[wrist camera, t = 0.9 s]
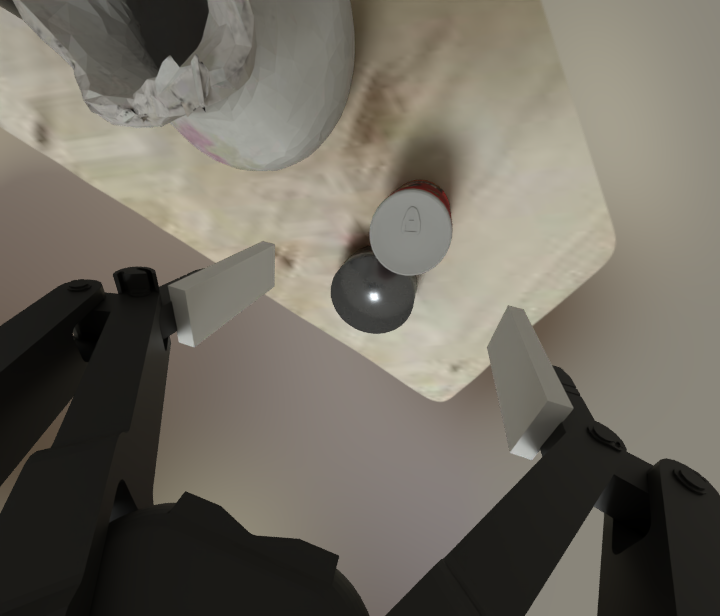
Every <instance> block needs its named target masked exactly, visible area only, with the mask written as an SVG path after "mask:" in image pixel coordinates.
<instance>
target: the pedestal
mask: <svg viewBox="0 0 720 616" xmlns="http://www.w3.org/2000/svg"><path fill="white" fill-rule="evenodd" d="M416 289H417V278H416V275H414V276H405V275H400V274H397V273H394V272H392V271H390V270H389V269H387V268H385V267H384V266H383V265H382V264H381V263H380V262H379V260H378V259H377V258H376V256H375V254H374V252H373V250H372V247H371V246H368V247H365V248H362V249H360V250H358V251H356V252H355V253H354V254H353V255H352V256H351V257H350V258H349V259H348V260H347V261H346V262H345V263H344V264H343V266H342V267H341V268H340V269H339V270H338V271H337V273H336V274H335V276H334V278H333V281H332V285H331V298H332V302H333V305H334V307H335V309H336V311H337V313H338V314H339V315H340V317H341V318H342V319H343V320H344V321H345V322H346V323H348V324H349V325H350V326H352V327H354V328H355V329H358V330H360V331H363V332H367V333H373V334H380V333H386V332H390V331H392V330H395V329H397V328H398V327H400V326H401V325H402V324H403V323H404V322H405V321H406V320H407V319H408V317H409V316H410V314H411V311H412V308H413V304H414V299H415V294H416Z"/></svg>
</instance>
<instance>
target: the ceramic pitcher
mask: <svg viewBox="0 0 720 616" xmlns="http://www.w3.org/2000/svg"><path fill="white" fill-rule="evenodd" d="M13 2H14V4H15V6H16V8H17V9H18V11H19V13H20V15H21V17H22V18H23V20H24V21H25V22H26V23H27V24H28V25H29V27H30V28H31V29H32V30H33V31H34V32H35V33H36V34H37V35H38V36H39V37H40V38H41V39H42V40H43V41H44V42H45V43H46V44H48V45H49V46H50V47H51V48H52V49H53V50H54V51H56V52H57V53H58V54H59V55H60V56H61V57H62V58H63V59H64V60H65V61H66V62H67V63H68V64H69V65H70V66H71V67H72V68H73V70H74V75H75V78H76V81H77V83H78V85H79V88H80V90H81V93H82V97H83V100H84V102H85V103H86V104H87V106H88V107H89V109H90V110H91V111H92V112H93V113H96V114H98V115H99V116H101V117H102V118H104V119H105V120H107V121H108V122H110V123H111V124H113V125H119V126H127V127H158V126H160V127H162V126H164V125H166V124H168V123H171V124H172V125H173V126H174V127H175V128H176V129H177V130H178V131H179V132H180V133H181V134H182V135H183V136H184V137H185V138H186V139H187V140H188V141H189V142H190V143H191V144H192V145H194V146H195V147H196V148H197V149H198V150H200V151H201V152H203V153H204V154H206V155H208V156H209V157H211V158H212V159H214V160H216V161H218V162H221V163H223V164H226V165H229V166H231V167H234V168H237V169H242V170H249V171H277V170H280V169H283V168H286V167H289V166H291V165H293V164H296V163H298V162H300V161H302V160H304V159H305V158H307V157H309V156H310V155H311V154H312V153H313V152H314V151H315V150H316V149H317V148H319V147H320V146H321V144H322V143H323V142H324V141H325V140H326V138H327V137H328V136H329V135H330V133H331V132H332V130H333V128H334V127H335V125H336V124H337V122H338V120H339V119H340V117H341V115H342V112H343V110H344V107H345V105H346V102H347V98H348V95H349V90H350V86H351V81H352V76H353V70H354V58H355V33H354V24H353V16H352V9H351V3H350V0H13Z"/></svg>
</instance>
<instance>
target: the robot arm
mask: <svg viewBox="0 0 720 616" xmlns="http://www.w3.org/2000/svg"><path fill="white" fill-rule="evenodd" d="M0 6H1V7H2V8H4V9H6V10H7V11H9V12H11V13H12V14H14V15H16V16H17V17H19V18H21V19H22V20H23V18H22V17H21V15H20V13H19V11H18V9H17V8H16V6H15V4H14V2H13V0H0ZM274 274H275V244H272V243H268V242H264V241H262V242H260V243H258V244H256V245H254V246H252V247H249V248H247V249H245V250H243V251H241V252H239V253H237V254H234V255H232V256H230V257H228V258H226V259H224V260H222V261H219V262H217V263H215V264H213V265H211V266H209V267H207V268H204V269H199V270H195V271H193V272H191V273H188V274H187V275H184V276H182V277H180V279H179V278H178V279H175V280H173V281H171V282H169V283H167V284H165V285H162V286H160V287H159V286H158V282H157V277H156V272H155V270H153V269H151V268H148V267H128V268H124V269H121V270H118V271H116V272H115V273H114V274H113V277H114V280H115V284H116V287H117V290H118V294H115V293H105V292H104V289H103V286H102V284H101V282H99V281H96V280H84V279H80V280H73V281H71V282H68V283H64V284H62V285H60V286H58V287H57V288H55V289H54V290H52V291H51V292H50V293H48V294H46V295H45V296H44V297H42V298H41V299H39V300H38V301H36V302H35V303H33V304H32V305H30V306H29V307H27V308H26V309H25V310H23V311H22V312H20V313H19V314H17V315H16V316H14V317H13V318H12V319H10V320H9V321H7V322H6V323H4V324H3V325H1V326H0V486H1V485H2V484H3V483H4V481H5V480H6V479H7V478H8V476H9V475H10V474H11V473H12V471H13V470H14V469H15V468H16V467H17V465H18V464H19V463H20V461H21V460H22V459H23V458H24V457H25V455H26V454H27V453H28V452H29V451H30V449H31V448H32V447H33V446H34V444H35V443H36V442H37V441H38V439H39V438H40V437H41V436H42V434H43V433H44V432H45V431H46V430H47V428H48V427H49V426H50V425H51V423H52V422H53V421H54V420H55V419H56V417H57V416H58V415H59V413H60V412H61V411H62V410H63V409H64V407H65V406H66V405H67V404H68V402H69V401H70V400H71V399H72V398H73V399H72V401H71V404H70V406H69V408H68V411H67V413H66V415H65V418H64V420H63V422H62V424H61V427H60V429H59V431H58V433H57V436H56V438H55V440H54V443H53V445H52V446H51V448H49V449H44V450H40V451H36V452H35V453H34V454H32V455H31V456H30V457H29V459H28V460H27V462H26V463H25V465H24V467H23V469H22V471H21V473H20V475H19V477H18V479H17V481H16V483H15V485H14V487H13V489H12V491H11V493H10V495H9V497H8V499H7V501H6V503H5V505H4V507H3V509H2V511H1V513H0V616H369V613H368V611H367V609H366V607H365V605H364V603H363V601H362V599H361V597H360V596H359V594H358V593H357V591H356V590H355V588H354V586H353V585H352V584H351V583H350V582H349V580H348V579H347V578H346V577H345V576H344V575H343V574H342V573H341V572H340V571H339V570H337V569H336V566H337V562H338V559H339V556H338V555H336V554H334V553H331V552H329V551H327V550H324V549H322V548H320V547H317V546H315V545H312V544H310V543H308V542H305V541H303V540H301V539H293V538H279V537H267V536H256V535H252V534H251V533H249V532H248V531H247V530H246V529H245V528H244V527H243V526H242V525H241V524H240V523H238V522H237V521H236V520H235V519H234V518H233V517H232V516H231V515H230V514H229V513H228V512H227V511H225V510H224V509H223V508H222V507H221V506H219V505H217V504H215V503H212V502H210V501H208V500H205V499H203V498H200V497H198V496H195V495H193V494H191V493H188V492H185V493H184V494H183V495H182V496H181V498H180V499H179V500H178V502H177V503H164V504H158V505H154V504H153V484H154V476H155V467H156V458H157V451H158V443H159V434H160V426H161V419H162V411H163V402H164V394H165V386H166V378H167V370H168V362H169V354H170V345H171V341H170V335H171V334H173V333H175V332H176V331H177V334H178V339H179V342H180V343H183V344H186V345H189V346H192V347H196V346H197V345H198V344H200V343H201V342H202V341H203V340H205V339H206V338H207V337H209V336H210V335H211V334H213V333H214V332H215V331H216V330H218V329H219V328H220V327H222V326H223V325H224V324H226V323H227V322H228V321H230V320H231V319H232V318H234V317H235V316H236V315H238V314H239V313H240V312H242V311H243V310H244V309H245V308H247V307H248V306H249V305H251V304H252V303H253V302H255V301H256V300H257V299H259V298H260V297H261V296H263V295H264V294H265V293H267V292H268V291H269V290H270V289H272V288H273V287H274ZM73 333H74V336H73ZM487 349H488V354H489V358H490V363H491V368H492V372H493V377H494V382H495V386H496V391H497V395H498V400H499V405H500V409H501V414H502V419H503V423H504V428H505V433H506V437H507V442H508V447H509V451H510V453H512V454H515V455H518V456H521V457H524V458H527V459H530V460H532V459H533V458H534V457H535V455H536V454H537V453H538V452H539V451H540V450H541V454H542V458H541V459H540V460H539V461H538V462H537V463H536V464H535V465H534V466H533V467H532V468H531V469H530V470H529V471H528V473H527V474H526V475H525V476H524V477H523V478H522V479H521V480H520V481H519V482H518V483H517V484H516V485H515V486H514V487H513V488H512V489H511V490H510V491H509V492H508V493H507V494H506V495H505V496H504V497H503V498H502V499H501V500H500V501H499V503H497V504H496V505H495V507H494V508H493V509H492V510H491V511H490V512H489V513H488V514H487V515H486V516H485V517H484V518H483V519H482V520H481V521H480V522H479V523H478V524H477V525H476V526H475V527H474V528H473V529H472V530H471V531H470V532H469V533H468V534H467V535H466V536H465V537H464V538H463V539H462V540H461V542H460V543H458V544H457V545H456V547H455V548H454V549H453V550H452V551H451V552H450V553H449V554H448V555H447V556H446V557H445V558H443V559H441V560H440V561H439V562H438V563H437V564H436V565H435V566H434V567H433V568H432V569H431V570H430V571H429V572H428V573H427V574H426V575H425V576H424V577H423V578H422V579H421V580H420V581H419V582H418V583H417V584H416V585H415V586H414V587H413V588H412V589H411V590H410V591H409V592H408V593H407V594H406V595H405V596H404V597H403V598H402V599H401V600H400V601H399V602H398V603H397V604H396V605H395V606H394V607H393V608H392V609H391V610H390V612H388V614H387V615H386V616H525V614H526V613H527V611H528V610H529V608H530V607H531V605H532V603H533V602H534V600H535V598H536V597H537V596H538V594H539V592H540V591H541V589H542V588H543V586H544V584H545V582H546V581H547V579H548V578H549V576H550V575H551V573H552V572H553V570H554V568H555V567H556V565H557V563H558V562H559V560H560V559H561V557H562V556H563V554H564V552H565V551H566V549H567V548H568V546H569V545H570V543H571V541H572V539H573V538H574V537H575V535H576V533H577V532H578V530H579V529H580V527H581V525H582V524H583V522H584V521H585V519H586V517H587V516H588V514H589V513H590V511H591V510H592V508H593V506H594V507H596V508H597V509H599V510H600V511H602V512H604V526H603V540H602V542H603V543H602V555H601V570H600V584H599V599H598V613H597V616H720V495H719V493H718V492H717V491H716V490H715V488H714V487H713V486H712V485H711V484H710V483H709V482H708V481H707V480H706V479H705V478H704V477H702V476H701V475H700V474H699V473H698V472H696V471H694V470H692V469H691V468H689V467H688V466H686V465H684V464H682V463H679V462H677V461H675V460H671V459H662V460H660V461H659V462H657V463H656V464H655V465H654V466H653V465H651V464H649V463H647V462H645V461H643V460H641V459H640V458H637V457H636V456H634V455H632V454H630V453H628V452H626V450H627V449H626V447H625V445H624V443H623V441H622V440H621V439H620V438H619V437H618V436H617V435H616V434H615V433H614V432H613V431H611V430H610V429H609V428H608V427H606V426H604V425H602V424H600V423H599V422H596V421H595V420H594V418H593V417H592V415H591V413H590V411H589V409H588V408H587V406H586V404H585V402H584V401H583V399H582V397H580V393H579V392H578V390H577V389H576V386H575V385H574V383H573V381H572V379H571V378H570V376H569V375H567V374H566V373H565V372H564V371H563V370H562V369H561V368H559V367H556V366H553V365H551V363H550V361H549V359H548V357H547V355H546V353H545V351H544V349H543V347H542V345H541V343H540V341H539V339H538V337H537V335H536V333H535V331H534V329H533V327H532V325H531V323H530V321H529V319H528V317H527V315H526V313H525V311H524V309H520V308H516V307H512V306H509V305H508V307H507V309H506V311H505V313H504V315H503V317H502V319H501V321H500V323H499V325H498V327H497V329H496V331H495V333H494V335H493V337H492V339H491V341H490V343H489V344H488V346H487ZM73 396H74V397H73Z"/></svg>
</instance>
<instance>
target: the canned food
mask: <svg viewBox="0 0 720 616" xmlns="http://www.w3.org/2000/svg"><path fill="white" fill-rule="evenodd" d="M369 234H370V243H371V247H372V250H373V252H374V254H375V256H376V258H377V259H378V260H379V262H380V263H381V264H382V265H383V266H384V267H385V268H387V269H389V270H390V271H392V272H394V273H397V274H400V275H405V276H414V275H419V274H422V273H425V272H427V271H429V270H431V269H432V268H434V267H435V266H436V265H437V264H438V263H440V262H441V260H442V259H443V258H444V256H445V255H446V253H447V251H448V249H449V246H450V243H451V239H452V219H451V212H450V205H449V201H448V199H447V196H446V195H445V193H444V191H443V190H442V189H441V188H440V187H439V186H437V185H436V184H434V183H432V182H430V181H427V180H414V181H411V182H408V183H406V184H404V185H402V186H401V187H400V188H398V189H397V190H396V191H394V192H393V193H392V194H390V195H389V196H388V197H387V198H386V199H385V200H384V201H383V202H382V203H381V204H380V205H379V207H378V208H377V210H376V212H375V214H374V215H373V218H372V221H371V224H370V233H369Z"/></svg>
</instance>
